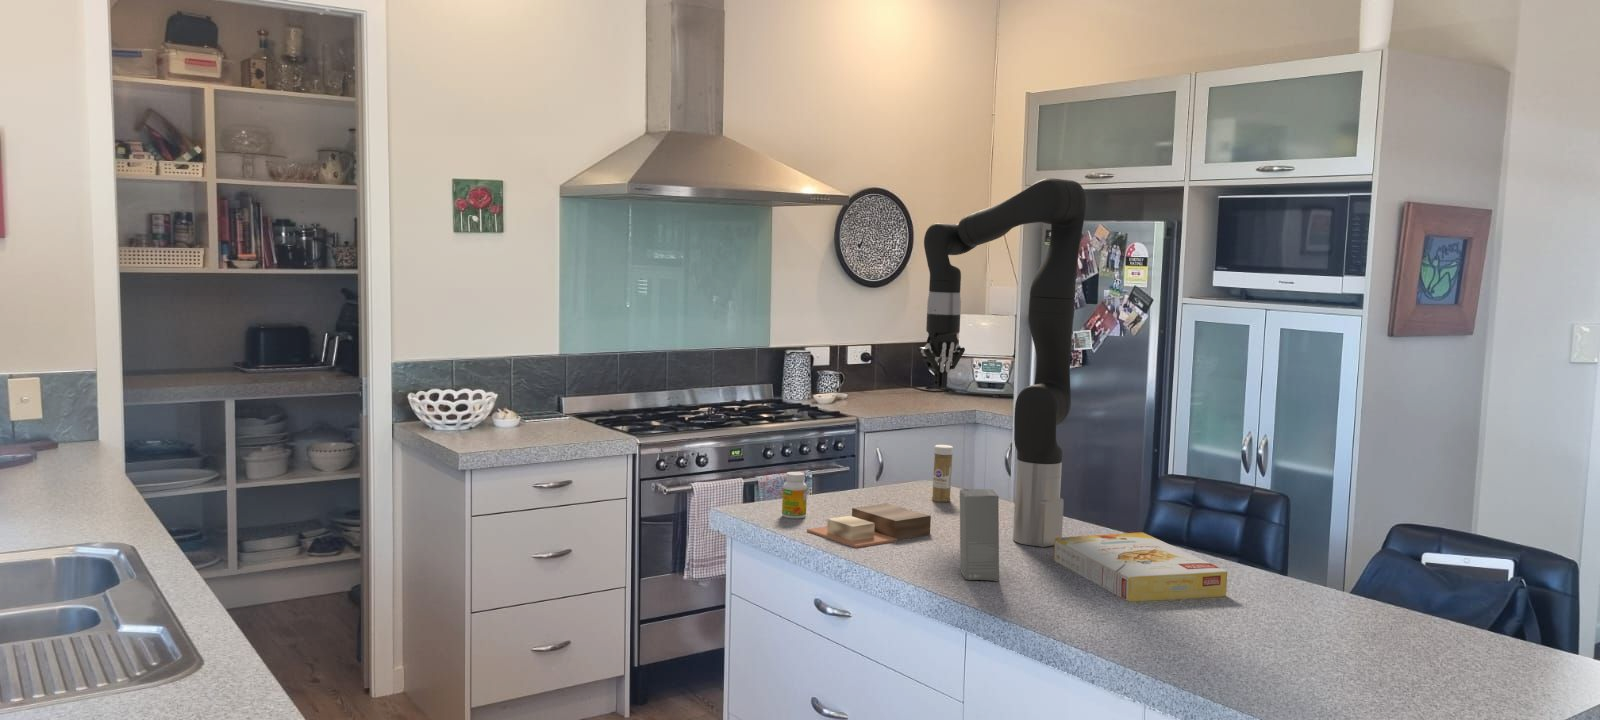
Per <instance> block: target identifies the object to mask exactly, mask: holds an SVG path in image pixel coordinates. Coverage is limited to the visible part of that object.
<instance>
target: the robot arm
mask: <svg viewBox="0 0 1600 720" xmlns="http://www.w3.org/2000/svg"><path fill="white" fill-rule="evenodd" d="M1086 208H1087V198H1086V192H1085V190H1084V188H1083V186H1082V185H1081V184H1080V183H1079V182H1077V181H1076V180H1071V179H1061V178H1051V177H1050V178H1049V177H1048V178H1043V179H1041V180H1038V181H1036V182H1034V183H1033V184H1030V185H1029V186H1028V187H1026V188H1025V189H1023V190H1021V191H1020V192H1018V193H1016V194H1014V195H1013V196H1011V197H1009V198H1007V199H1006V200H1004V201H1001V202H998V203H997V204H994V205H991V206H989V207H987V208H984V209H981V210H978V211H976V212H973V213H970V214H968V215H966V216H964V217H962V218H961V219H960V221H959V223H944V222H943V223H942V222H936V223H933V224H931V225H930V226H929V227H928V228H927V229H926V231H925V233H924V238H923V247H924V252H925V257H926V263H927V267H928V270H929V271H928V272H929V283H928V284H929V287H928V298H927V309H926V324H925V325H926V327H925V329H926V332H927V334H928V335H927V336H928V337H927V338H926V344H925V345H924V346H923V347H922V346H921V347H919V348H918V353H919V355H920V357H921V359H922V360H923V362H924V364H925V366H926V367H927V369H928V370H931V371H933V385H934V389H937V390H942V389H943V390H945V389H946V387H947V384H948V374H949V372H950V371H951V370H955V368H956V367H957V365H958V363H959V361H960V360H961V359H962V356H963V355H964V354H965V351H966V349H965V347H962V346H961V345H960V344H959V339H958V334H959V333H960V329H961V309H962V308H961V307H962V305H961V303H962V300H961V299H962V298H961V285H962V284H961V283H962V282H961V281H962V272H961V269H960V268H958V267H957V266H954V265H953V264H951V261H950V258H949V256H959V255H963V254H965V253H968V252H970V251H972V250H973V249H975V248H976V247H978V246H979V245H983V244H986V243H989V242H993V241H995V240H997V239H1000V238H1001V237H1003V236H1005V235H1006V234H1008V233H1009V232H1010V231H1011V230H1012V229H1014V228H1016V227H1018V226H1023V225H1027V224H1037V223H1044V224H1046V225H1050V237H1049V238H1050V241H1049V246H1048V249H1047V252H1046V255H1045V257H1044V259H1043V261H1042V263H1041V265H1040V266H1039V268H1038V270H1037V272H1036V274H1035V275H1034V277H1033V280H1032V282H1031V285H1030V291H1029V298H1028V299H1029V301H1028V303H1029V304H1028V324H1029V325H1028V326H1029V330H1030V335H1031V338H1032V341H1033V346H1034V349H1035V354H1036V366H1035V367H1036V368H1035V375H1034V376H1035V378H1034V383H1033V384H1032V385H1029V386H1025V387H1024V388H1023V389H1022V390H1021V391H1020V392H1019V393H1018V395H1017V397H1016V400H1015V405H1014V416H1013V417H1014V423H1013V424H1014V432H1013V433H1014V436H1013V440H1014V441H1013V442H1014V447H1015V449H1016V468H1015V470H1016V471H1015V472H1016V473H1015V488H1014V489H1015V490H1014V510H1013V529H1012V530H1013V532H1012V540H1013V542H1016V543H1018V544H1021V545H1027V546H1033V547H1040V548H1045V547H1051V546H1054V541H1055V538H1060V537H1063V526H1064V525H1063V524H1064V523H1063V522H1064V504H1065V502H1064V501H1065V500H1064V498H1062V497H1061V486H1062V485H1061V483H1062V469H1063V468H1062V466H1063V448H1062V447H1061V446H1059V445H1058V442H1057V426H1058V425H1060V424H1062V423H1063V422H1065V420H1066V419H1067V418H1068V416H1069V414H1070V410H1071V406H1072V405H1071V404H1072V397H1071V396H1072V394H1071V392H1072V391H1071V351H1072V340H1073V326H1074V325H1073V324H1074V318H1075V317H1074V316H1075V304H1076V303H1075V302H1076V285H1077V273H1078V264H1079V254H1080V253H1079V252H1080V246H1081V239H1082V233H1083V228H1084V221H1085V217H1086Z"/></svg>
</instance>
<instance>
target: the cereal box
mask: <svg viewBox="0 0 1600 720" xmlns="http://www.w3.org/2000/svg"><path fill="white" fill-rule="evenodd" d="M1053 548H1054V549H1053V561H1054V562H1055V563H1058V564H1059V565H1061V566H1062V567H1064V568H1066V569H1068V570H1069V571H1072V572H1074V573H1076V574H1077V575H1079V576H1080V577H1083V578H1084V579H1086V580H1088V581H1090V582H1092V583H1094V584H1095V585H1097V586H1099V587H1102V588H1103V589H1105V590H1106V591H1109V592H1111V593H1112V594H1114V595H1116V596H1118V598H1121V599H1123V600H1124V601H1126V602H1146V601H1147V602H1149V601H1164V600H1184V599H1200V598H1201V599H1203V598H1205V599H1206V598H1220V597H1226V596H1227V591H1228V589H1227V587H1228V570H1226V569H1224V568H1222V567H1219V566H1217V565H1215V564H1213V563H1210V562H1208V561H1206V560H1204V559H1201V558H1200V557H1198V556H1195V555H1194V554H1191V553H1188V552H1186V551H1185V550H1183V549H1180V548H1178V547H1175V546H1174V545H1172V544H1169V543H1167V542H1165V541H1162V540H1160V539H1158V538H1156V537H1154V536H1152V535H1149V534H1147V533H1146V532H1142V531H1141V532H1127V533H1123V532H1122V533H1112V534H1096V535H1081V536H1080V535H1079V536H1062V537H1060V538H1055V541H1054V545H1053Z"/></svg>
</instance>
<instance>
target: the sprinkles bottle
mask: <svg viewBox="0 0 1600 720" xmlns="http://www.w3.org/2000/svg"><path fill="white" fill-rule="evenodd" d="M933 453H934V458H933V460H934V462H933V476H932V496H931V500H932V501H934V502H938V503H947V502H950V501H951V488H952V471H953V468H952V467H953V464H952V463H953V454H954V447H953V445H949V444H936V445H934V446H933Z"/></svg>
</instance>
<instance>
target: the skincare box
mask: <svg viewBox="0 0 1600 720" xmlns="http://www.w3.org/2000/svg"><path fill="white" fill-rule="evenodd" d="M999 505H1000V503H999V495H998V494H997V493H996V491H995V490H994V489H993V488H986V489H985V488H983V489H981V488H979V489H978V488H977V489H976V488H969V489H968V488H967V489H966V488H963V489H959V570H960V571H961V573H962V575H963V577H964V579H965V580H971V581H972V580H973V581H976V580H977V581H979V580H980V581H995V582H999V581H1000V539H999V537H1000V534H999V533H1000V531H999V529H1000V528H999V527H1000V526H999V525H1000V523H999V520H1000V519H999V517H1000V516H999V515H1000V514H999V513H1000V510H999Z"/></svg>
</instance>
